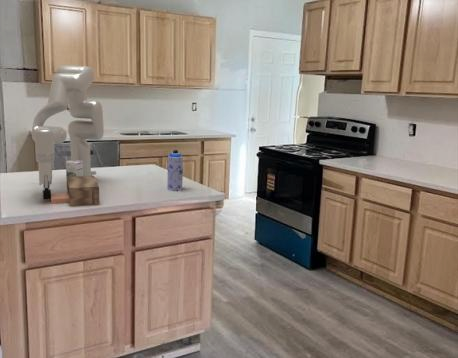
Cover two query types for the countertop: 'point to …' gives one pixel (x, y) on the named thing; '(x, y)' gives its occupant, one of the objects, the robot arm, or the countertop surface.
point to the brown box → (83, 190)
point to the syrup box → (74, 168)
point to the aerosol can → (175, 171)
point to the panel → (59, 198)
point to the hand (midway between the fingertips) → (47, 198)
